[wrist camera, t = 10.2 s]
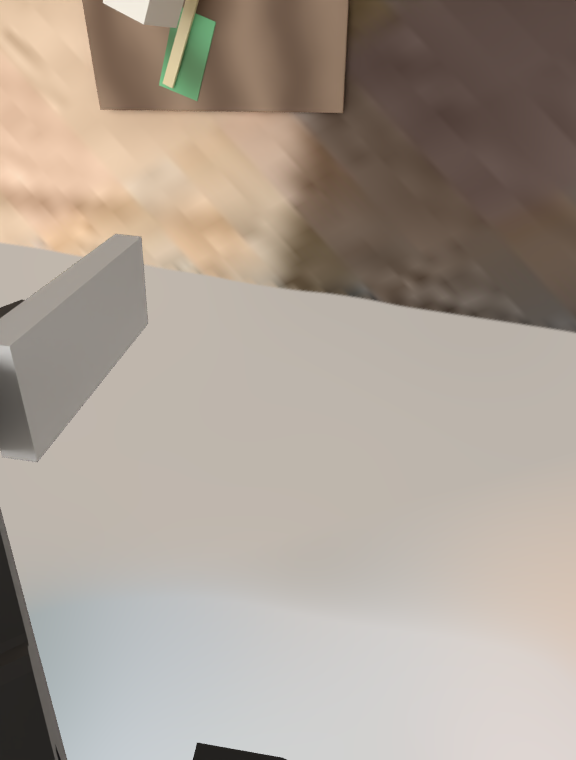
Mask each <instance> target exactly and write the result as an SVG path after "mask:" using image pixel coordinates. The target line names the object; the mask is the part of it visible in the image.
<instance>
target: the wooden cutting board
mask: <svg viewBox="0 0 576 760" xmlns="http://www.w3.org/2000/svg"><path fill="white" fill-rule="evenodd" d="M185 1H186V0H184V3H183V6H182V10H181V13H180V17H179V21H178V24H177V28H171V27H161V26H152V25H144V24H142V23H140V22H138V21H136V20H134V19H132V18H130V17H128V16H127V15H125V14H123V13H121V12H119V11H117V10H115V9H113V8H111V7H110V6H108V5H106V4H104V3H103V0H82V2H83V8H84V14H85V20H86V26H87V32H88V38H89V44H90V50H91V56H92V62H93V68H94V74H95V80H96V86H97V92H98V98H99V104H100V110H172V111H244V112H316V113H343V111H344V92H345V72H346V53H347V33H348V13H349V0H199V2H198V5H197V9H196V12H195V16H194V19H193V23H192V26H191V30H190V33H189V37H188V40H187V43H186V47H185V50H184V54H183V57H182V61H181V64H180V68H179V71H178V75H177V78H176V81H175V85H174V88H170V87H168V86H166V85H165V84H163V80H164V76H165V73H166V69H167V65H168V62H169V58H170V55H171V51H172V47H173V44H174V40H175V37H176V33H177V29H178V26H179V22H180V19H181V15H182V11H183V8H184V4H185Z"/></svg>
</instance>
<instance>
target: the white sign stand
mask: <svg viewBox="0 0 576 760" xmlns="http://www.w3.org/2000/svg"><path fill="white" fill-rule="evenodd" d="M198 2H199V0H186V1H185V4H184V8H183V11H182V15H181V19H180V22H179V26H178V29H177V33H176V37H175V40H174V44H173V47H172V51H171V55H170V58H169V62H168V65H167V69H166V73H165V76H164V80H163V84H165V85H166V86H168V87H170V88H174V85H175V81H176V78H177V75H178V71H179V68H180V64H181V61H182V57H183V54H184V50H185V47H186V43H187V40H188V37H189V33H190V30H191V26H192V23H193V19H194V16H195V12H196V9H197V5H198ZM103 3H104V4H106V5H108V6H110V7H111V8H113V9H115V10H117V11H119V12H121V13H123V14H125V15H127V16H128V17H130V18H132V19H134V20H136V21H138V22H140V23H142V24H144V25H152V26H161V27H171V28H177V24H178V21H179V17H180V13H181V10H182V6H183V3H184V0H103Z"/></svg>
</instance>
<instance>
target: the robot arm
mask: <svg viewBox="0 0 576 760" xmlns="http://www.w3.org/2000/svg"><path fill="white" fill-rule="evenodd" d="M147 324H148V315H147V303H146V289H145V277H144V264H143V251H142V238H141V237H139V236H130V235H121V234H115V235H113V236H112V237H110V238H109V239H108V240H106V241H105V242H104V243H102V244H101V245H100V246H98V247H97V248H95V249H94V250H93V251H91V252H90V253H89V254H87V255H86V256H85V257H83V258H82V259H80V260H79V261H78V262H77V263H75V264H74V265H72V266H71V267H70V268H68V269H67V270H66V271H64V272H63V273H62V274H60V275H59V276H57V277H56V278H55V279H53V280H52V281H50V282H49V283H48V284H46V285H45V286H44V287H42V288H41V289H40V290H38V291H37V292H35V293H34V294H33V295H31V296H30V297H29V298H27V299H26V300H20V301H17V302H14V303H12V304H9V305H6V306H4V307H1V308H0V451H1V454H2V457H4V458H11V459H19V460H26V461H32V462H38V461H39V459H40V458H41V457H42V456H43V455H44V453H45V452H46V451H47V450H48V448H49V447H50V446H51V445H52V443H53V442H54V441H55V439H56V438H57V437H58V436H59V434H60V433H61V432H62V431H63V430H64V428H65V427H66V426H67V424H68V423H69V422H70V421H71V420H72V418H73V417H74V416H75V415H76V413H77V412H78V411H79V410H80V408H81V407H82V406H83V404H84V403H85V402H86V401H87V400H88V398H89V397H90V396H91V394H92V393H93V392H94V391H95V389H96V388H97V387H98V386H99V384H100V383H101V382H102V381H103V379H104V378H105V377H106V376H107V374H108V373H109V372H110V371H111V369H112V368H113V367H114V366H115V364H116V363H117V362H118V361H119V359H120V358H121V357H122V356H123V354H124V353H125V352H126V351H127V349H128V348H129V347H130V345H131V344H132V343H133V342H134V341H135V339H136V338H137V337H138V336H139V334H140V333H141V332H142V331H143V329H144V328H145V327H146V326H147ZM0 760H67V758H66V754H65V750H64V746H63V743H62V739H61V735H60V731H59V727H58V724H57V720H56V716H55V712H54V709H53V705H52V701H51V697H50V694H49V690H48V686H47V682H46V678H45V675H44V671H43V667H42V663H41V660H40V657H39V652H38V649H37V645H36V641H35V637H34V633H33V629H32V626H31V622H30V618H29V615H28V611H27V607H26V603H25V599H24V595H23V592H22V588H21V584H20V580H19V577H18V573H17V569H16V565H15V562H14V558H13V554H12V550H11V546H10V543H9V539H8V535H7V531H6V528H5V524H4V520H3V516H2V513H1V509H0ZM193 760H286V759H284V758H281V757H274V756H269V755H264V754H258V753H252V752H247V751H241V750H235V749H230V748H225V747H219V746H213V745H207V744H202V743H197V745H196V750H195V754H194V758H193Z"/></svg>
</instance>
